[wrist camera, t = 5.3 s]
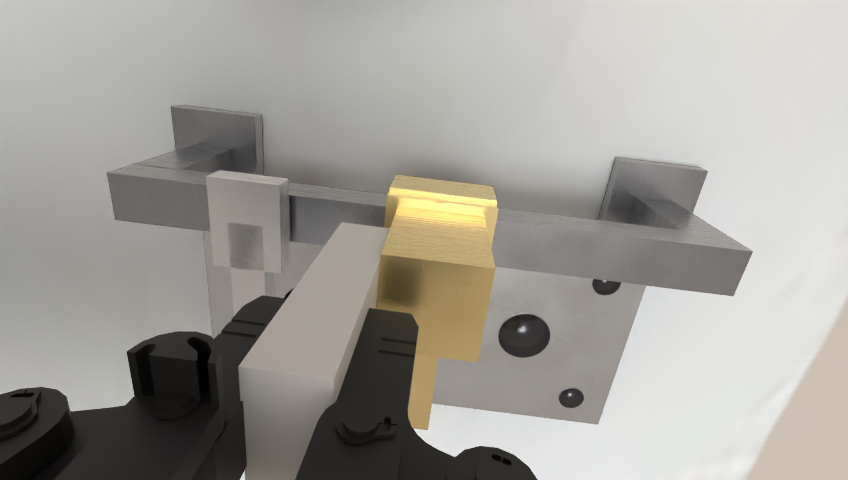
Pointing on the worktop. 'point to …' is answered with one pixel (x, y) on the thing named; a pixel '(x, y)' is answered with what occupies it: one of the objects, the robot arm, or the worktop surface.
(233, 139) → the beam gauge
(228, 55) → the worktop surface
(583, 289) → the flange plate
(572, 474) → the worktop surface
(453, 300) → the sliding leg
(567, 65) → the worktop surface
